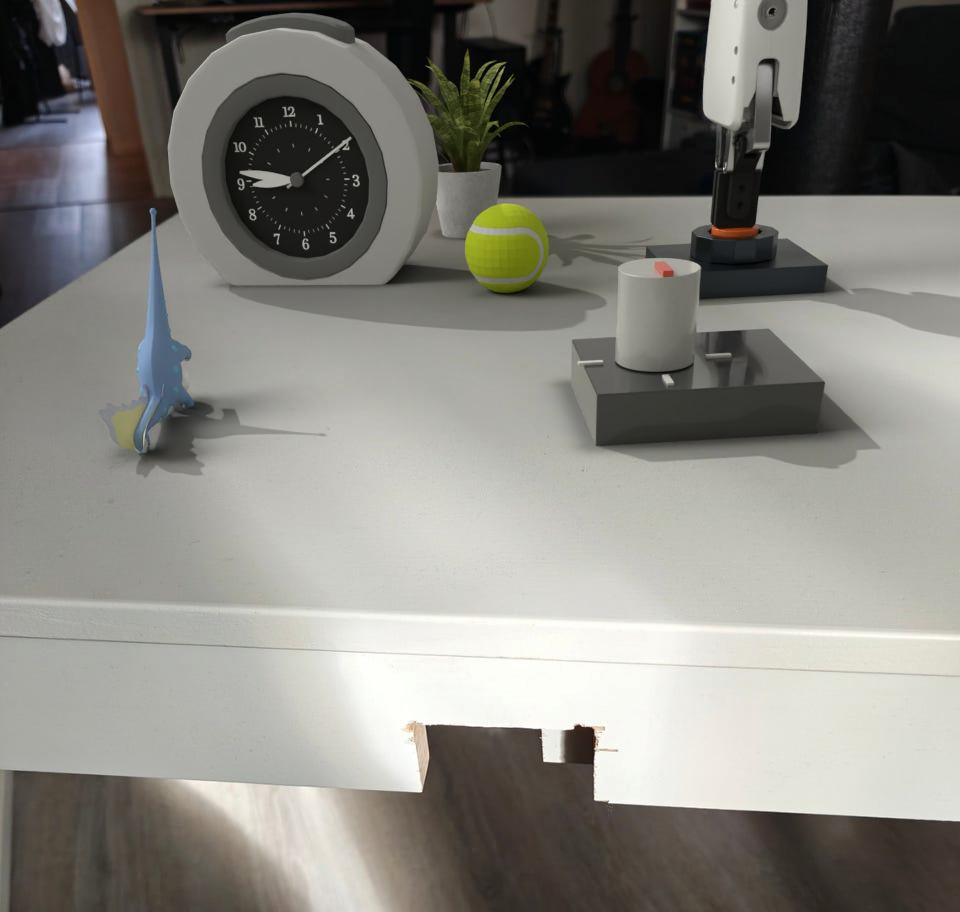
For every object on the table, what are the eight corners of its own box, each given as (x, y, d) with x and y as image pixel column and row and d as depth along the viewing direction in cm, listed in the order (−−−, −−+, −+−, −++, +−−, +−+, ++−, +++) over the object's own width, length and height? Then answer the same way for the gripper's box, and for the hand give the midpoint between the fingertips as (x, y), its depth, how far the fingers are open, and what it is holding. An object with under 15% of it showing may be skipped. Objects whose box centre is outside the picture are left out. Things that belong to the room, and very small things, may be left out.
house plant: (441, 215, 112) (431, 43, 103) (558, 221, 106) (558, 40, 98) (374, 242, 101) (357, 53, 92) (500, 250, 96) (495, 50, 87)
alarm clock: (189, 287, 88) (138, 20, 78) (219, 267, 95) (176, 17, 84) (430, 286, 85) (412, 8, 75) (444, 265, 92) (430, 6, 81)
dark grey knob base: (763, 376, 63) (769, 325, 61) (817, 436, 55) (826, 378, 53) (566, 387, 63) (566, 336, 61) (590, 449, 54) (591, 391, 53)
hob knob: (608, 350, 59) (611, 254, 56) (684, 346, 59) (690, 250, 56) (622, 374, 55) (626, 273, 52) (703, 369, 55) (711, 268, 52)
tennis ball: (485, 307, 79) (482, 215, 76) (454, 288, 85) (450, 201, 81) (562, 295, 81) (563, 205, 78) (528, 278, 87) (527, 193, 83)
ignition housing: (784, 265, 87) (790, 215, 85) (824, 294, 78) (831, 240, 76) (644, 272, 87) (647, 222, 84) (669, 303, 78) (673, 248, 76)
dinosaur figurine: (158, 475, 63) (99, 447, 54) (148, 233, 63) (87, 161, 53) (205, 473, 63) (154, 445, 54) (195, 231, 63) (142, 159, 53)
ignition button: (749, 243, 83) (751, 220, 82) (762, 253, 80) (764, 229, 79) (705, 246, 83) (707, 223, 82) (716, 255, 80) (718, 232, 79)
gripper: (852, -62, 64) (810, 244, 74) (780, -54, 77) (752, 207, 87) (735, -58, 64) (708, 249, 74) (681, -51, 76) (665, 210, 86)
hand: (732, 225), depth 80 cm, fingers closed
